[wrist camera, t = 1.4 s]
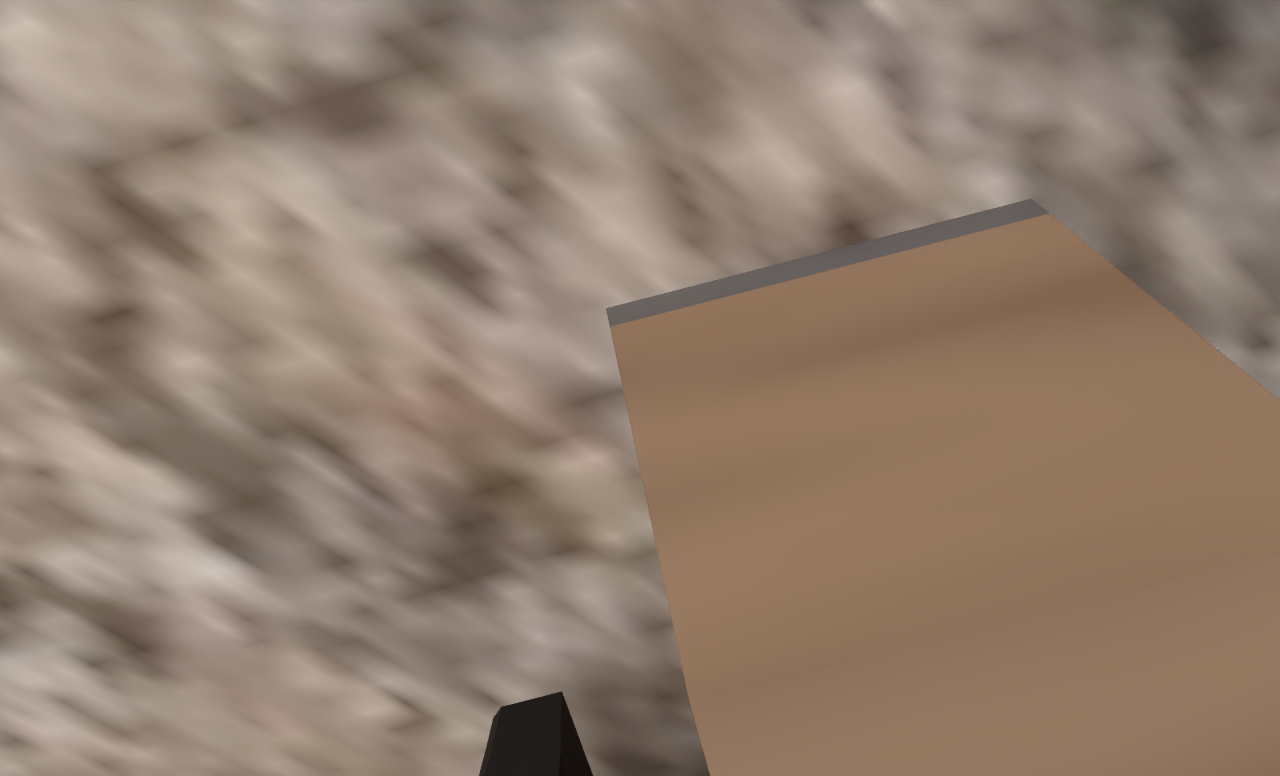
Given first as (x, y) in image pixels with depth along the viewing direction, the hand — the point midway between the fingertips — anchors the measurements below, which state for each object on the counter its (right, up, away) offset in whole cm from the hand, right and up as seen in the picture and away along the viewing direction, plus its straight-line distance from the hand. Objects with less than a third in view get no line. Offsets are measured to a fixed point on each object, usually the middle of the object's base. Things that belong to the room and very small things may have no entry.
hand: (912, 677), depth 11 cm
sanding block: (0, +1, +1) cm, 2 cm away
